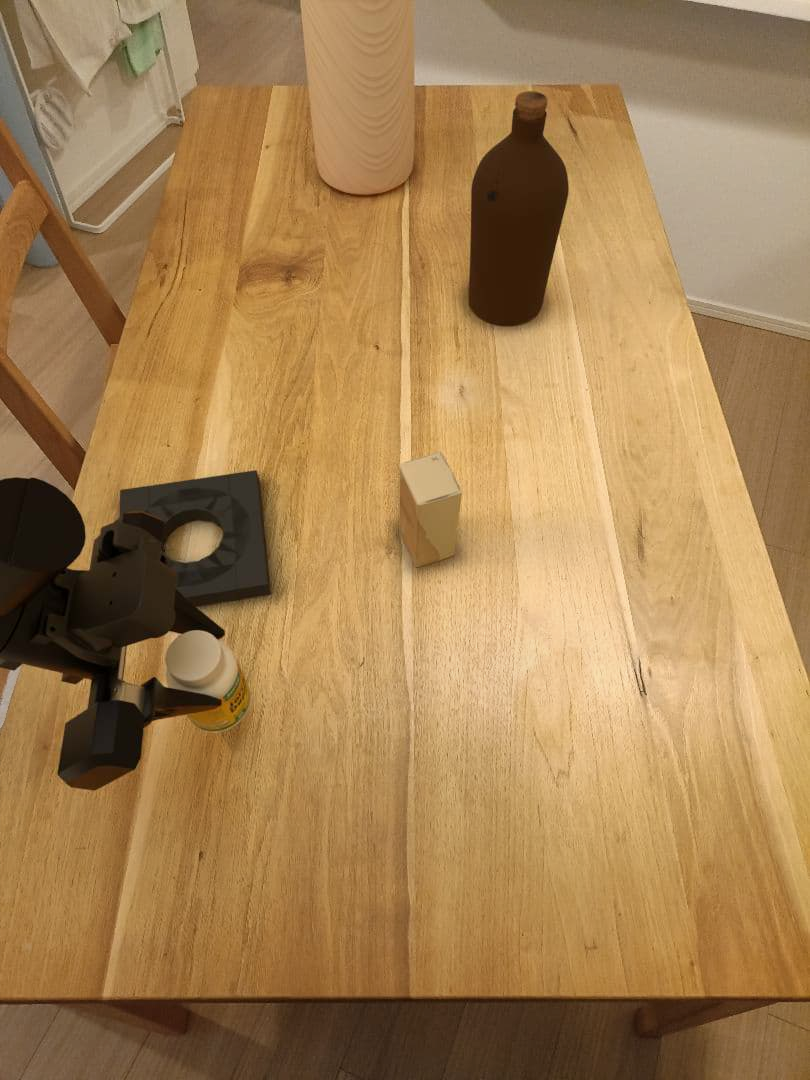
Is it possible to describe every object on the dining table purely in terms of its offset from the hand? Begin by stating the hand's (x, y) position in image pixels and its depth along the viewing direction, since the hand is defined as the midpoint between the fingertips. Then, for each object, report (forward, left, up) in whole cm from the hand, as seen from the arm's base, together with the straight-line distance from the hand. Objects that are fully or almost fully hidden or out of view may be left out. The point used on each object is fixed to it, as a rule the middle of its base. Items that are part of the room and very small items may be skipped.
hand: (220, 669), depth 58 cm
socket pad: (-4, +19, -11) cm, 23 cm away
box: (+19, +15, -11) cm, 27 cm away
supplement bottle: (-1, 0, -7) cm, 7 cm away
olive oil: (+36, +49, -11) cm, 62 cm away
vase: (+23, +81, -11) cm, 85 cm away
